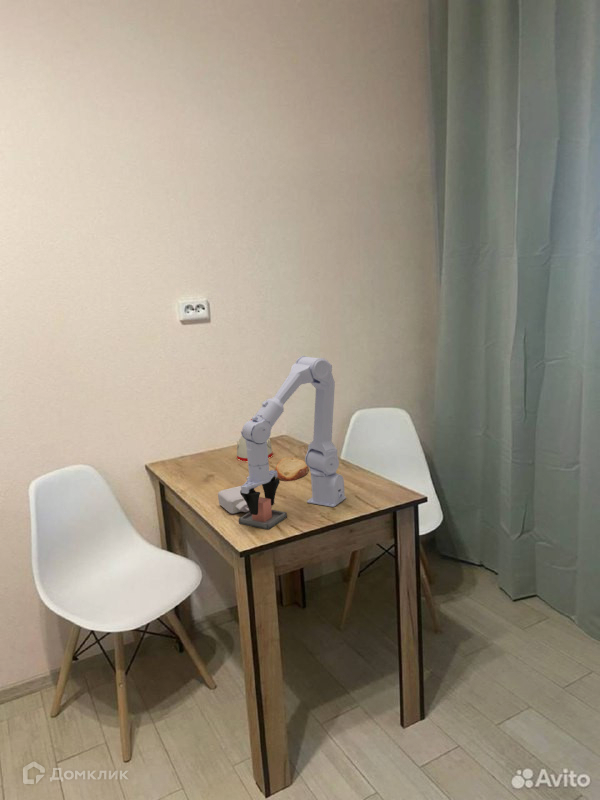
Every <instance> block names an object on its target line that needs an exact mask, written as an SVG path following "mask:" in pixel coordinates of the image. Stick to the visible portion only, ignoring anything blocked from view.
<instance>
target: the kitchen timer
mask: <svg viewBox="0 0 600 800" xmlns="http://www.w3.org/2000/svg"><path fill="white" fill-rule="evenodd" d="M250 420H252V418H251V419H250ZM236 443H237V445H236V457H237V458H238V459H240V460H242V461H248V458H247V447H246V440H245V439H244V438H243V437H242V435H241V436H240V438H239V440H238V441H236ZM267 450H268V458H269V457H271V456H272V455H273V454H274V453H273V448H272V443H271V439H270V438H269V439H268V440H267ZM273 456H274V455H273ZM273 456H272V457H273ZM272 457H271V458H272ZM238 459H237V460H238Z"/></svg>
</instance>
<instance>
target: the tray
mask: <svg viewBox="0 0 600 800" xmlns="http://www.w3.org/2000/svg"><path fill="white" fill-rule="evenodd" d="M271 510H272V518H270V519H268V520H267V521H265V522H263V521H258V520H253V518H252V514H251V513H250V511H248V512H246V514H243V515H242V516H240V517H239V518H238V524H240V525H244V526H249V527H253V528H257V529H263V530H266V531H267V530H271V529H272V528H273V527H276V525H278V524H280V523H281V522H282V521H284V520H286V519H287V518H288V512H287V511H286V512H285V511H281V510H275V509H271Z"/></svg>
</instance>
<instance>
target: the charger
mask: <svg viewBox="0 0 600 800" xmlns="http://www.w3.org/2000/svg"><path fill="white" fill-rule="evenodd" d="M241 486H242V485H239V486H235V487H230V488H227V489H221V490H220V491H218V492H217V497H218V504H219V506H221V507H222V508H223V509H225V510H226V511H227V512H228V513H229V514H232V515H233V514H238V513H242V512H243V513H249V512H250V511H249V508H248V505H247V503H246V501H245V500H244V498H243V497H242V495H241V494H240V491H241Z"/></svg>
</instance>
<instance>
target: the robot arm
mask: <svg viewBox="0 0 600 800" xmlns="http://www.w3.org/2000/svg"><path fill="white" fill-rule="evenodd" d="M290 368H291V369H290V372H289V374H288V375H287V376H286V379H285V380H284V382H283V383H282V384H281V386H280V387H279V388H278V390H277V392H276V393H275V395H274V396H273V397H271V398H267V399H266V400H263V401H262V402H261V407H260V408H259V409H258V411H257V412H256V413H255V414H254V415H253V416H252V417H251V419H252V420H251V419H250V420H247V421H246V422H245V423H244V425H243V427H242V430H241V431H240V434H241V436H242V437H243V438H244V439H245V440H246V447H247V458H248V462H247V467H248V476H247V477H246V481H245V482H244V483H243V484H242V485H240V486H241V491H240V494H241V495H242V497H243V498H244V500H245V501H246V503H247V505H248V508H249V511H248V512H250V513H251V514H253V515H257V514H258V500H259V497H260V495H261V492H260V491H257V490H255V489H256V488H258V487H260V486H261V487H262V489H263V493H264V498H268V499H271V506H273V505H274V504H275V499H276V497H275V496H276V493H277V489H278V487H279V484H280V481H281V480H280V479H278V478H277V477H278V476H277V471H275V469H274V470H273V469H271V470H270V464H269V459H268V450H267V440H268V439H270V437H271V432H272V428H273V427H274V425H275V424H276V422H277V421H278V420H279V418H280V417H281V416H282V414H283V413H284V412H285V411H284V406H285V404H286V403H287V402H288V400H289V399H290V398H291V396H292V395H294V393H295V392H296V391H297V390H298V389H299V387H300V386H302V385H306V384H311V386H312V387H314V388H315V399H314V400H315V401H314V402H315V403H314V418H313V419H314V420H313V435H312V438H313V439H312V441H311V442H310V443H309V444H308V445H307V447H308V448H307V452H306V454H305V456H304V461H305V463H306V465H307V466H308V469H309V472H310V482H311V483H310V484H311V495H312V496H311V497H310V498H309V499H307V500H306V503H308V504H313V505H320V506H324V507H325V506H326V507H330V508H334V507H336V506H337V505H339V504H340V503H341V502H343V501H344V500H345V499H347V496H345V495H346V494H345V480H344V476H343V475H342V474H339V473H337V470H338V469H339V467H340V459H339V457H338V448H337V447H336V445H335V444H334V442H333V441H332V439H333V426H334V425H333V422H334V407H335V406H334V404H335V386H336V385H335V383H336V382H335V379H334V376H333V372H332V371H333V365H332V364H331V363H330V362H329V361H328V360H327V359H326V358H325V357H313V356H306V355H302V356H299V357H298V358H297V359H296V360H295V363H293V364H292V365H291V367H290Z"/></svg>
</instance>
